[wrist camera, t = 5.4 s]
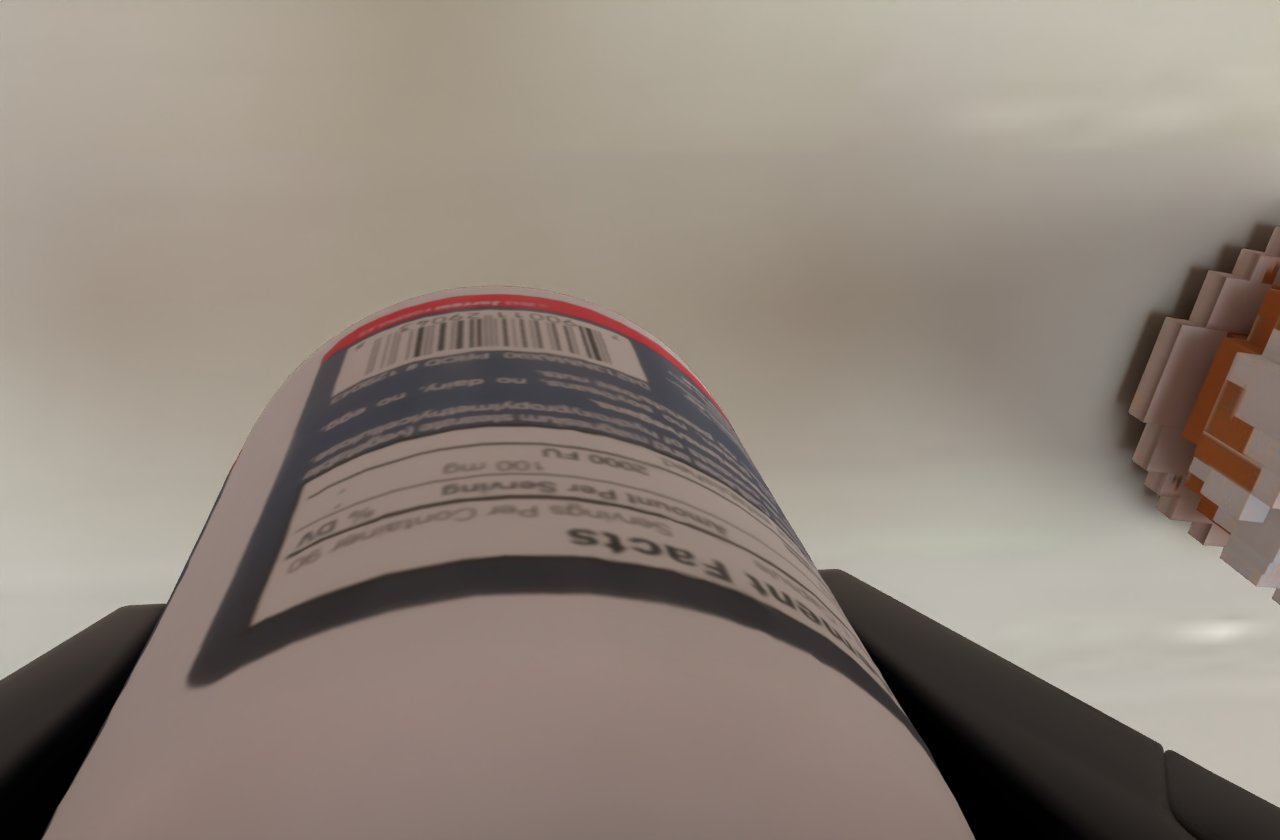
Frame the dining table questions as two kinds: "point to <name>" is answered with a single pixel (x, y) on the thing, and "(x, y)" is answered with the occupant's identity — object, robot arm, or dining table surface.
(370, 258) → the dining table surface
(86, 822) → the pill bottle
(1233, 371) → the decorative ornament
